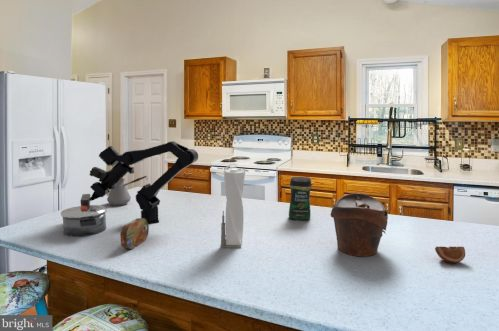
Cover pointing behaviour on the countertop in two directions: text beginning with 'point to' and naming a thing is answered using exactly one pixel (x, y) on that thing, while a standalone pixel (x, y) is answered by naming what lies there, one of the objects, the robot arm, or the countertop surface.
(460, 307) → the countertop surface
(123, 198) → the coffee pot
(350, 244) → the brown flower pot
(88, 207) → the cooker lid
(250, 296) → the countertop surface
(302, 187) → the coffee jar
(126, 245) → the tin
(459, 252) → the fruit slice
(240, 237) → the skyscraper
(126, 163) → the robot arm
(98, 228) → the cooker pot
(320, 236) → the countertop surface
